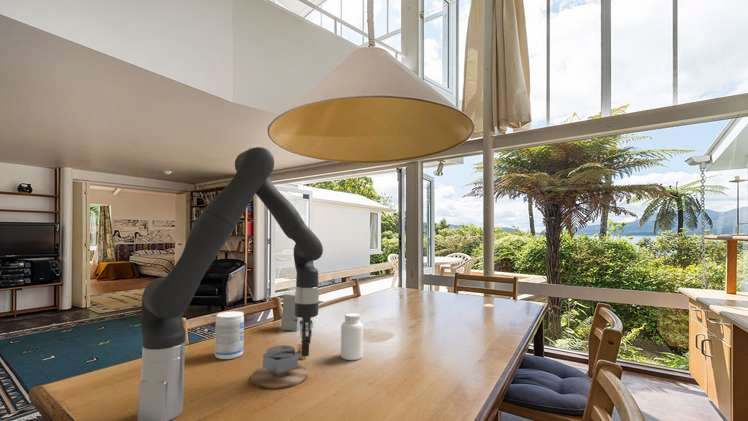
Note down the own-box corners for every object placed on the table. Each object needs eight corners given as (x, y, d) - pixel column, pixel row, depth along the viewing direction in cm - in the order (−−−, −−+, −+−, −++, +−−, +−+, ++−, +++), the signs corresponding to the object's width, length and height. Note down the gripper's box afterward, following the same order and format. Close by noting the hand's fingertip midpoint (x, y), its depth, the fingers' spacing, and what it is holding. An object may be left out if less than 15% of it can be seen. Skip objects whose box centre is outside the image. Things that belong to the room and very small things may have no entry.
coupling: (276, 375, 107) (276, 357, 107) (260, 367, 112) (260, 350, 113) (313, 362, 117) (313, 346, 117) (296, 355, 123) (297, 340, 123)
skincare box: (280, 329, 163) (281, 294, 164) (288, 325, 170) (289, 291, 170) (297, 331, 160) (298, 295, 161) (305, 327, 167) (305, 292, 168)
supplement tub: (246, 357, 129) (247, 315, 129) (217, 362, 123) (218, 318, 124) (239, 349, 137) (240, 309, 137) (212, 353, 132) (213, 312, 132)
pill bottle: (351, 351, 136) (351, 311, 137) (367, 356, 131) (368, 314, 132) (335, 357, 130) (336, 314, 131) (352, 362, 125) (353, 318, 126)
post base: (301, 389, 104) (302, 368, 104) (242, 388, 104) (243, 367, 104) (312, 366, 121) (312, 348, 122) (261, 365, 122) (262, 347, 122)
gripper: (320, 304, 111) (318, 362, 110) (316, 296, 124) (315, 348, 123) (295, 305, 109) (293, 363, 108) (294, 297, 122) (292, 349, 121)
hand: (305, 355), depth 116 cm, fingers closed
